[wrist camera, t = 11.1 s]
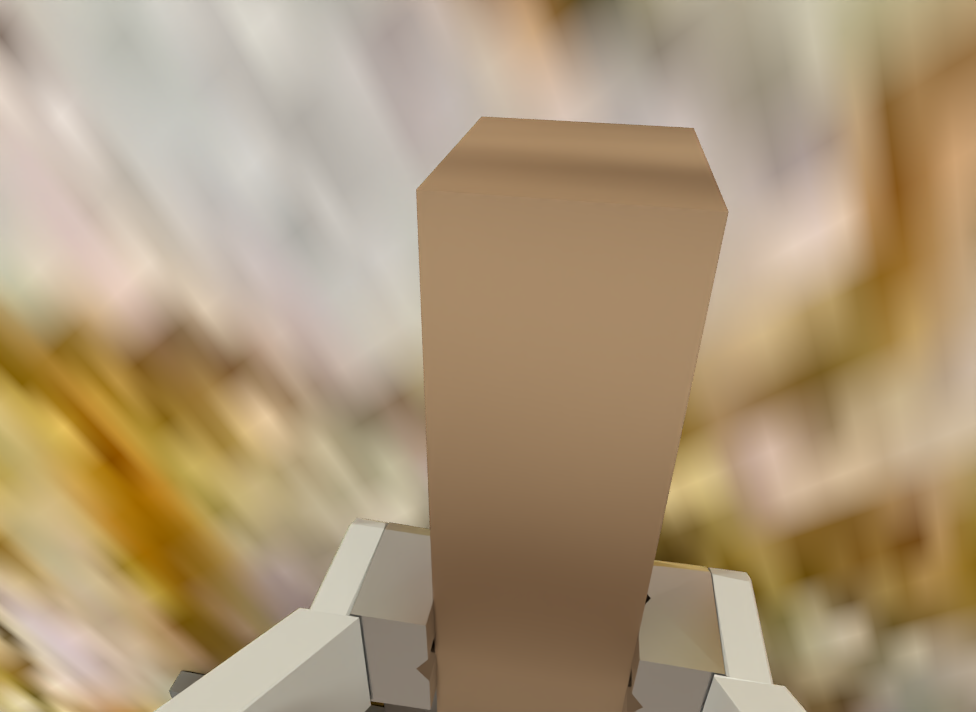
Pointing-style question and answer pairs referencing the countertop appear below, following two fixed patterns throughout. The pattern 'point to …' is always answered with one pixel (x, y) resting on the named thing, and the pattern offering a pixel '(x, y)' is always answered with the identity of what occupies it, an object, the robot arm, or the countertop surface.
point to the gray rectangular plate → (189, 678)
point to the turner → (555, 396)
